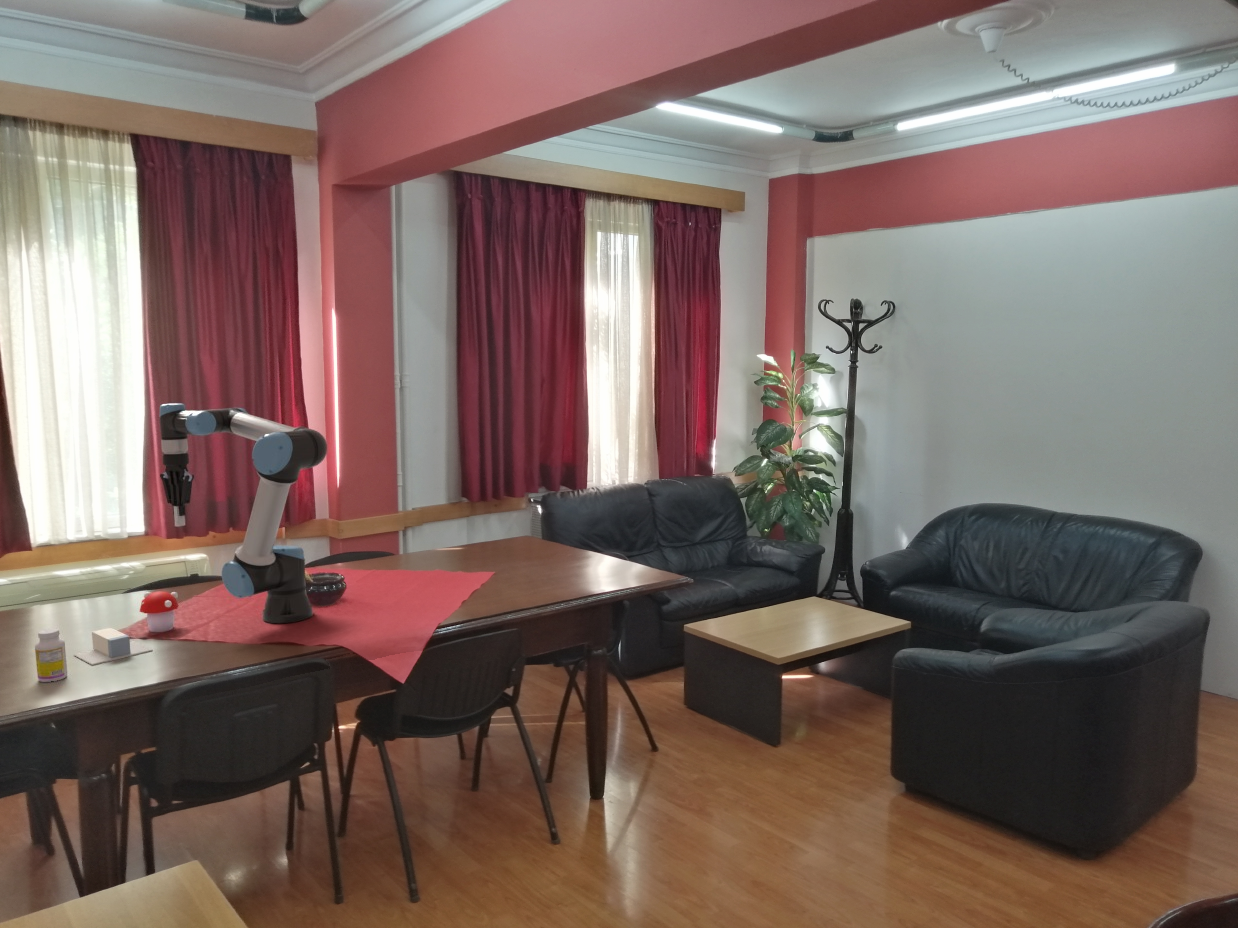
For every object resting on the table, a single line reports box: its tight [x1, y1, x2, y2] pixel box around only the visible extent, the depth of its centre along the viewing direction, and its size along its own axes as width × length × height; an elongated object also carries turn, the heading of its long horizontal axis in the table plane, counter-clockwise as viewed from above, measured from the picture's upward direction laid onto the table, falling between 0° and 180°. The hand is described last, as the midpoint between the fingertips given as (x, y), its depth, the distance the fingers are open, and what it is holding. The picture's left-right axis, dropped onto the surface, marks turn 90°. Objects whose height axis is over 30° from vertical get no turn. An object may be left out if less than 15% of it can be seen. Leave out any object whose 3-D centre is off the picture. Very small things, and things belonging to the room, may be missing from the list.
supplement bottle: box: [34, 628, 68, 683], centre depth 241 cm, size 7×7×13 cm
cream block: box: [91, 627, 131, 658], centre depth 263 cm, size 5×5×13 cm
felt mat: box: [73, 640, 153, 666], centre depth 262 cm, size 13×16×1 cm
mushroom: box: [139, 590, 179, 633], centre depth 284 cm, size 11×11×12 cm
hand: (180, 525), depth 296 cm, fingers closed
